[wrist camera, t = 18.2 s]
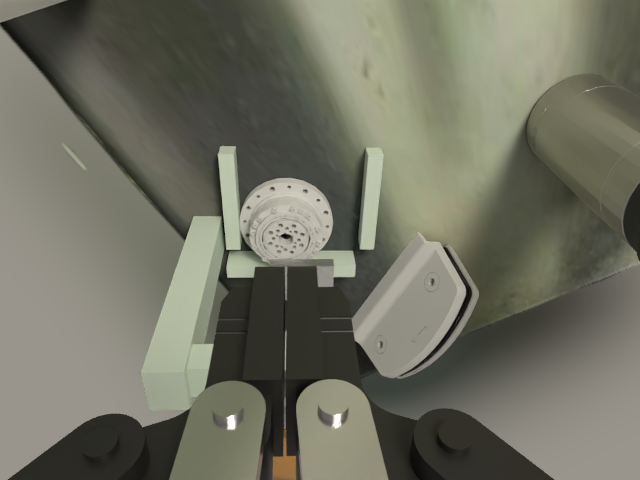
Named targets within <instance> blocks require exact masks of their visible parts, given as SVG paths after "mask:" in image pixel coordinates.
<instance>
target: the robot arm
mask: <svg viewBox="0 0 640 480" xmlns="http://www.w3.org/2000/svg"><path fill="white" fill-rule="evenodd" d="M527 141H528V144H529V147H530V149H531V150H532V152H533V153H534V154H535V155H536V156H537V157H538V158H539V159H540V160H541V161H542V162H543V163H544V164H545V165H546V166H547V167H548V168H549V169H550V170H551V171H552V172H553V173H554V174H555V175H556V176H557V177H558V178H559V179H560V180H562V181H563V182H564V183H565V184H566V185H567V186H568V187H569V188H570V189H571V190H572V191H573V192H574V193H575V194H576V195H577V196H578V197H579V198H580V199H581V200H583V201H584V202H585V203H586V204H587V205H588V206H589V207H590V208H591V209H592V210H593V211H594V212H595V213H596V214H597V215H598V216H599V217H600V218H601V219H602V220H603V221H605V222H606V223H607V224H608V225H609V226H610V227H611V228H612V229H613V230H614V231H615V232H616V233H617V234H618V235H619V236H621V237H622V238H623V239H624V240H625V241H626V242H627V243H628V244H629V245H630V246H631V247H632V248H633V249H634V250H635V251H636V252H637V256H638V259H639V261H640V96H638V95H636V94H634V93H632V92H630V91H628V90H627V89H625V88H623V87H621V86H618V85H616V84H614V83H612V82H610V81H608V80H606V79H604V78H602V77H599V76H595V75H579V76H574V77H571V78H568V79H566V80H563V81H561V82H560V83H558V84H556V85H555V86H553V87H552V88H551V89H549V90H548V91H547V92H546V93H545V94H544V95H543V96H542V97H541V98H540V99H539V101H538V102H537V103H536V105H535V107H534V108H533V110H532V112H531V114H530V117H529V120H528V124H527ZM285 334H286V378H285ZM285 381H286V454H287V456H296V480H554V479H553V478H551V477H550V476H549V475H547V474H546V473H545V472H544V471H542V470H541V469H540V468H538V467H537V466H536V465H534V464H533V463H532V462H530V461H529V460H528V459H526V458H525V457H524V456H523V455H521V454H520V453H518V452H517V451H516V450H515V449H514V448H512V447H511V446H510V445H508V444H507V443H506V442H504V441H503V440H502V439H500V438H499V437H498V436H496V435H495V434H494V433H493V432H491V431H490V430H489V429H488V428H486V427H485V426H483V425H482V424H481V423H480V422H478V421H477V420H476V419H474V418H472V417H471V416H470V415H468V414H466V413H463V412H461V411H458V410H453V409H436V410H432V411H429V412H427V413H426V414H424V415H423V416H422V417H421V418H420V419H419V420H418V421H417V420H413V419H410V418H405V417H402V416H399V415H395V414H392V413H389V412H387V411H385V410H383V409H381V408H380V407H378V406H377V405H375V404H374V403H373V402H372V401H371V400H370V399H369V397H368V396H367V395H366V394H365V392H364V390H363V387H362V384H361V378H360V372H359V365H358V358H357V352H356V345H355V338H354V333H353V325H352V320H351V311H350V305H349V300H348V299H347V297H346V296H345V295H344V294H343V292H342V291H341V290H340V288H339V287H318V277H317V266H287V317H286V315H285V267H255V271H254V280H253V287H241V288H232V289H231V291H230V292H229V293H228V294H227V296H226V297H225V298H224V299H223V301H222V302H221V308H220V313H219V321H218V323H217V329H216V335H215V340H214V345H213V350H212V355H211V360H210V366H209V371H208V376H207V382H206V386H205V389H204V391H203V392H201V393H200V394H199V395H198V397H197V398H196V399H195V401H194V402H193V404H192V406H191V408H190V409H188V410H187V411H185V412H184V413H182V414H180V415H178V416H176V417H174V418H171V419H169V420H165V421H162V422H159V423H155V424H152V425H149V426H146V427H142V426H141V425H140V423H139V422H138V421H137V420H135V419H134V418H132V417H130V416H127V415H123V414H106V415H102V416H98V417H96V418H93V419H91V420H89V421H87V422H85V423H83V424H82V425H80V426H79V427H77V428H76V429H75V430H73V431H72V432H71V433H69V434H68V435H67V436H66V437H64V438H63V439H61V440H60V441H59V442H58V443H56V444H55V445H53V446H52V447H51V448H49V449H48V450H47V451H45V452H44V453H43V454H41V455H40V456H39V457H37V458H36V459H35V460H33V461H32V462H31V463H29V464H28V465H27V466H25V467H24V468H23V469H21V470H20V471H19V472H17V473H16V474H15V475H13V476H12V477H11V478H9V479H8V480H272V477H273V457H283V446H284V391H285Z"/></svg>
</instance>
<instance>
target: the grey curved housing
mask: <svg viewBox="0 0 640 480" xmlns="http://www.w3.org/2000/svg"><path fill="white" fill-rule="evenodd" d="M478 298H479V291H478V289H477V287H476V286H475V284H474V282H473V281H472V279H471V277H470V276H469V274H468V272H467V271H466V269H465V267H464V266H463V264H462V262H461V261H460V259H459V257H458V256H457V254H456V252H455V251H454V249H453V248H452V247H451V246H450V245H448V244H447V245H446V246H445V247H444V248H443V247H442V246H441V244H440V242H431V241H426V240H425V238H424V237H423V236H422V234H421V233H416V234H415V236H414V237H413V238H412V240H411V241H410V242H409V244H408V245H407V246H406V248H405V249H404V250H403V252H402V253H401V254H400V256H399V257H398V258H397V260H396V261H395V262H394V264H393V265H392V266H391V268H390V269H389V270H388V272H387V273H386V274H385V276H384V277H383V278H382V280H381V281H380V282H379V284H378V285H377V286H376V288H375V289H374V290H373V292H372V293H371V294H370V296H369V297H368V298H367V300H366V301H365V302H364V303H363V305H362V306H361V307H360V309H359V310H358V311H357V313H356V314H355V315H354V317H353V318H352V319H351V320H352V325H353V333H354V338H355V341H356V342H358V343H359V344H360V345H361V346H362V348H363V349H364V351H365V352H366V353H367V355H368V356H369V358H370V359H371V361H372V362H373V364H374V365H375V367H376V368H377V370H378V371H379V373H380V374H381V375H382V376H385V377H389V378H395V377H397V378H399V379H400V378H405V377H408V376H410V375H413V374H415V373H417V372H419V371H421V370H422V369H424V368H426V367H427V366H429V365H430V364H431V363H433V362H434V361H435V360H436V359H438V358H439V357H440V356H441V355H442V354H443V353H444V352H445V351H446V350H447V349H448V348H449V347H450V345H451V344H452V343H453V342H454V341H455V339H456V338H457V337H458V335H459V334H460V332H461V331H462V329H463V328H464V326H465V325H466V323H467V321H468V319H469V318H470V316H471V314H472V312H473V310H474V307H475V305H476V303H477V300H478Z"/></svg>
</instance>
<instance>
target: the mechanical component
mask: <svg viewBox="0 0 640 480" xmlns="http://www.w3.org/2000/svg"><path fill="white" fill-rule="evenodd" d="M332 225H333V219H332V212H331V208H330V205H329V203H328V201H327V199H326V197H325V196H324V195H323V194H322V193H321V192H320V191H319V190H318V189H317V188H316V187H315V186H313V185H311V184H309V183H307V182H305V181H303V180H298V179H293V178H277V179H274V180H270V181H267V182H265V183H263V184H261V185H259V186H257V187H256V188H255V189H254V190H253V191H251V192H250V193H249V195H248V196H247V197H246V199H245V201H244V204H243V206H242V209H241V213H240V230H241V233H242V235H243V237H244V239H245V242H246V243H247V244H248V245H249V246H250V248H251V249H252V250H253V251H254V252H256V254H257V255H259V256H260V257H261V258H262V261H264V262H265V261H266V262H268V263H269V264H270V259H313V258H314V255H315V254H316V253H318V251H319V250H321V249H322V248H323V246H324V245H325V244H326V243H327V241H328V239H329V237H330V235H331V232H332ZM284 233H286V234H284Z"/></svg>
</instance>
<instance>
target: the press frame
mask: <svg viewBox="0 0 640 480" xmlns="http://www.w3.org/2000/svg"><path fill="white" fill-rule="evenodd" d="M218 160H219V171H220V183H221V194H222V205H223V216H224V228H225V239H226V250H241V243H242V233H241V230H240V201H239V187H238V172H237V157H236V146H221V147H220V150H219V153H218ZM382 166H383V153H382V150H381V148H366V150H365V162H364V174H363V186H362V199H361V211H360V223H359V235H358V242H359V246H360V249H374V242H375V233H376V223H377V213H378V204H379V194H380V185H381V175H382ZM224 248H225V246H224V235H223V224H222V216H194V217H193V220H192V223H191V226H190V229H189V232H188V235H187V237H186V240H185V243H184V246H183V249H182V252H181V255H180V258H179V261H178V264H177V267H176V270H175V273H174V276H173V279H172V282H171V284H170V288H169V290H168V294H167V296H166V299H165V302H164V305H163V308H162V311H161V314H160V317H159V320H158V323H157V326H156V329H155V332H154V334H153V337H152V341H151V344H150V346H149V349H148V352H147V355H146V358H145V361H144V364H143V367H142V370H141V377H142V381H143V385H144V390H145V394H146V398H147V402H148V406H149V410H188V409H190V408H191V404H192V399H193V397H198V395H199V394H200V393H201V392H203V391H204V389H205V386H206V382H207V376H208V371H209V366H210V360H211V355H212V350H213V345H214V344H204V342H205V338H206V333H207V328H208V324H209V319H210V314H211V309H212V304H213V300H214V295H215V290H216V285H217V281H218V276H219V272H220V267H221V262H222V257H223V253H224ZM313 259H333V261H334V277H355V268H356V265H355V260H354V254H353V251H318V253H316V254H315V255H314V258H313ZM226 267H227V278H251V277H254V271H255V267H270V264H269V263H268V262H266V261H265V262H264V261H262V258H261V257H260V256H259V255H257V254H256V252H254V251H229V256H228V261H227V266H226ZM285 378H286V334H285ZM284 407H286V381H285V391H284Z"/></svg>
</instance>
